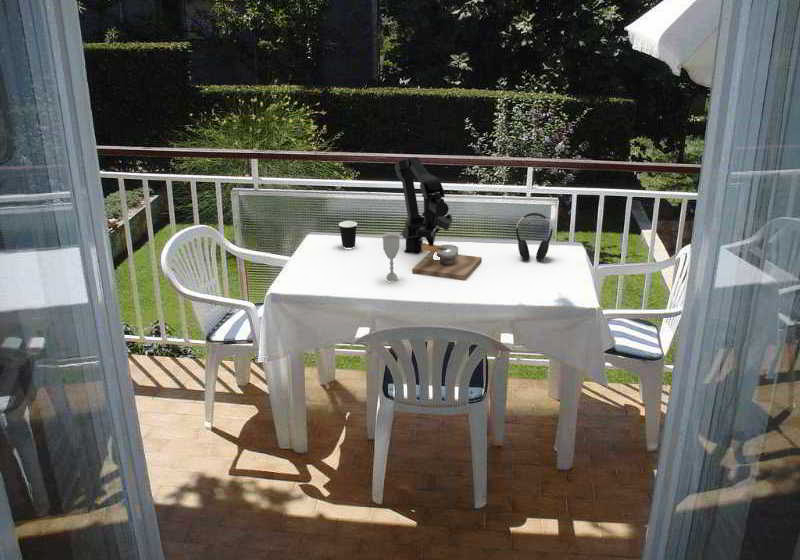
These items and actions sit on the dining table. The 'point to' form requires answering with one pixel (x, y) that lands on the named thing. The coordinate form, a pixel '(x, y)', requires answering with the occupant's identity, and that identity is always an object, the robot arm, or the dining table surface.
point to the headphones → (542, 248)
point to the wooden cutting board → (447, 266)
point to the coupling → (442, 250)
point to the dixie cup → (348, 233)
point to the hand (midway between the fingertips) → (431, 246)
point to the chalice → (391, 251)
